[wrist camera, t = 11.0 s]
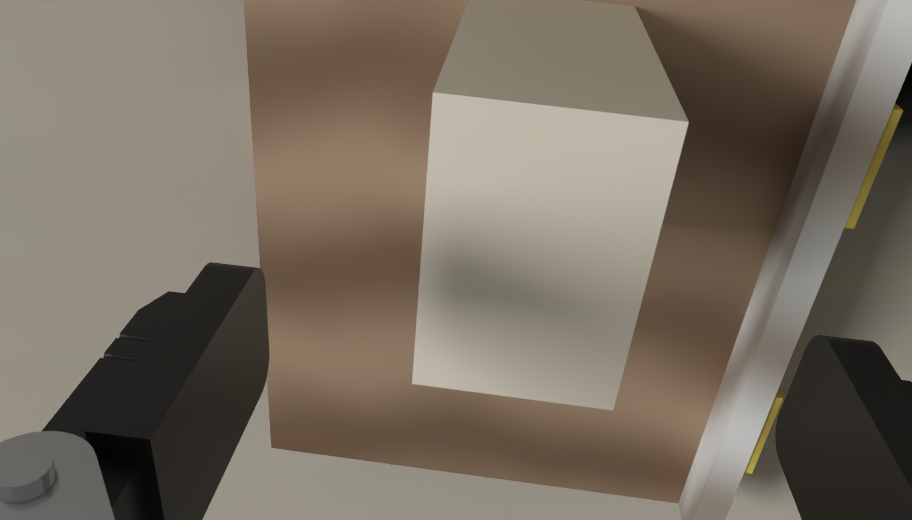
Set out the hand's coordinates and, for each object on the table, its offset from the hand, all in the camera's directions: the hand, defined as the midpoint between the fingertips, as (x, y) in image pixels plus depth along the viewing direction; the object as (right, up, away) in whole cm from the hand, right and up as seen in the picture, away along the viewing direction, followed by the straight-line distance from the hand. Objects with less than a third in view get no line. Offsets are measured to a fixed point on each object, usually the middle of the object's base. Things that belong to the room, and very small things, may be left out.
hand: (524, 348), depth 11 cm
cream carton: (+1, +5, +9) cm, 10 cm away
